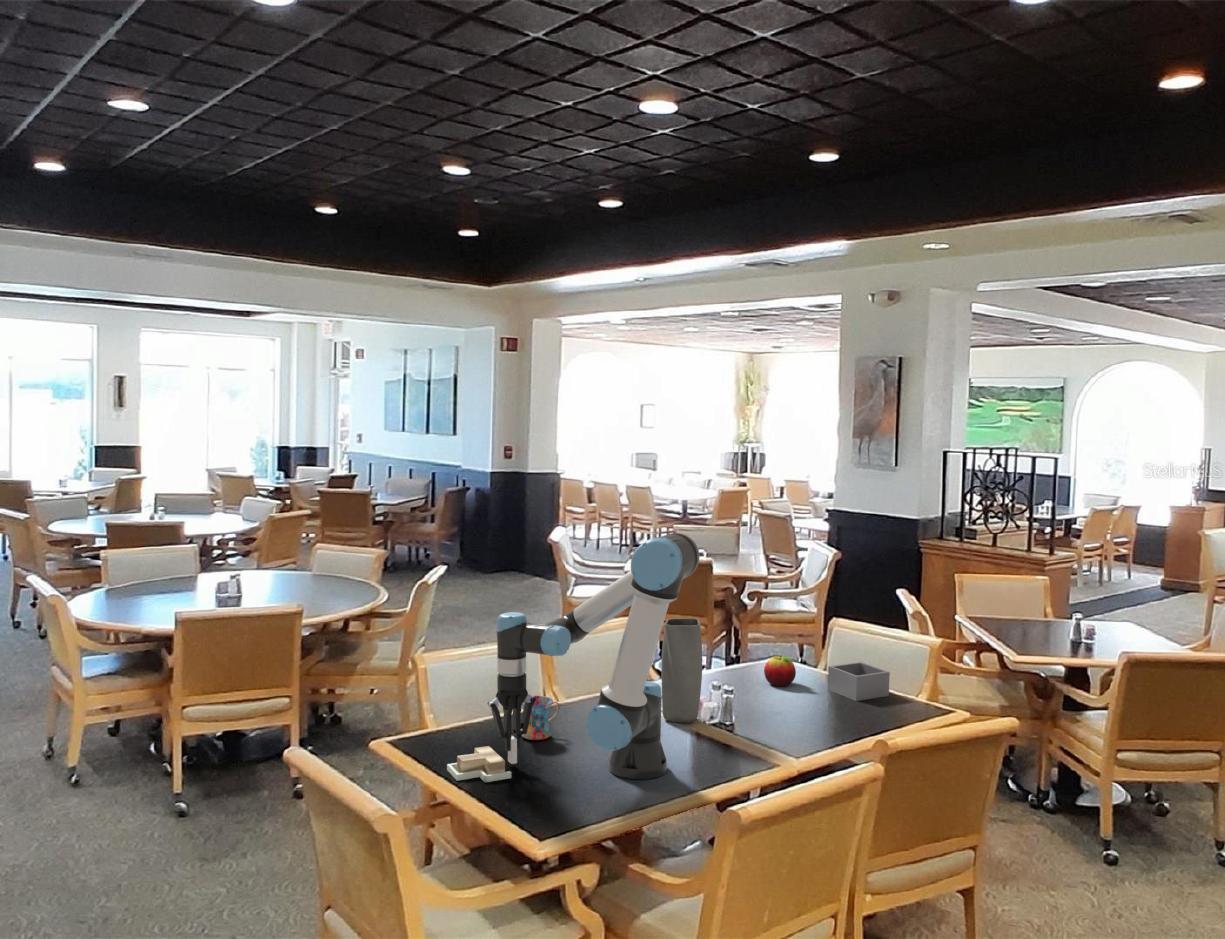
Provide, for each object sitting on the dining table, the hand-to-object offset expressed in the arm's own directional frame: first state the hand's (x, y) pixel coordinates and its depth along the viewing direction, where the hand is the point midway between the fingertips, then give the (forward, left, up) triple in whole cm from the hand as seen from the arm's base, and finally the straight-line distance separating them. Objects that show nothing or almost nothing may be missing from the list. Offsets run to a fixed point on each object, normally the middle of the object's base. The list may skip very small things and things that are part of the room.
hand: (512, 762), depth 256 cm
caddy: (+15, -129, -1) cm, 130 cm away
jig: (+1, +10, -1) cm, 10 cm away
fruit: (+34, -111, -1) cm, 116 cm away
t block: (+1, +9, -1) cm, 9 cm away
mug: (+19, -16, -1) cm, 24 cm away
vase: (+15, -60, -1) cm, 62 cm away
